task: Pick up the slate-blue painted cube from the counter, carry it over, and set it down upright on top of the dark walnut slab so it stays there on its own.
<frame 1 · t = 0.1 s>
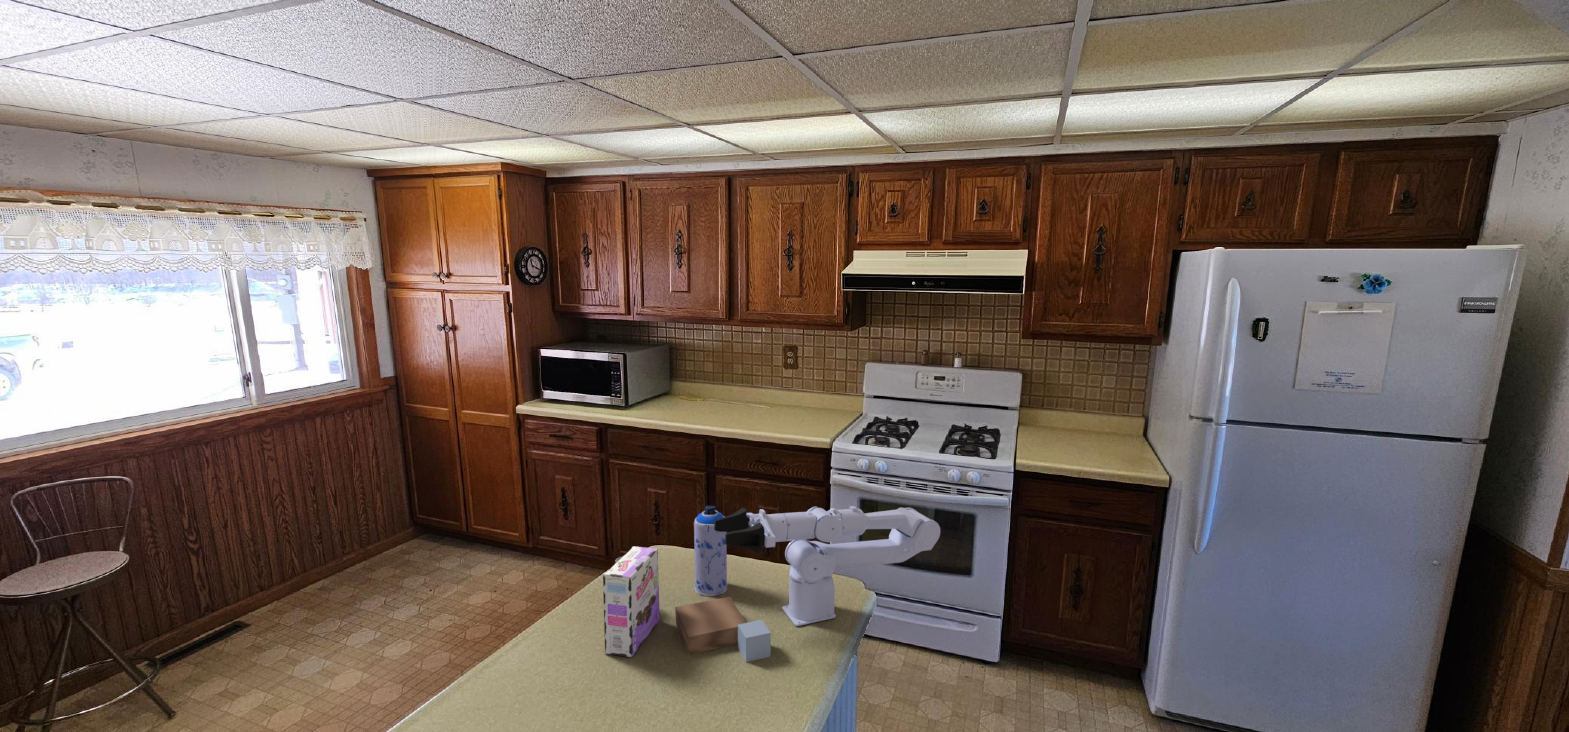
hand: (720, 532, 124), 22 cm above the countertop, tool horizontal, fingers open, 7 cm apart
walnut slab: (710, 633, 127), on the countertop
candy box: (633, 637, 125), on the countertop
slate cube: (754, 652, 120), on the countertop
aerosol can: (711, 588, 145), on the countertop
supplement bottle: (625, 609, 136), on the countertop
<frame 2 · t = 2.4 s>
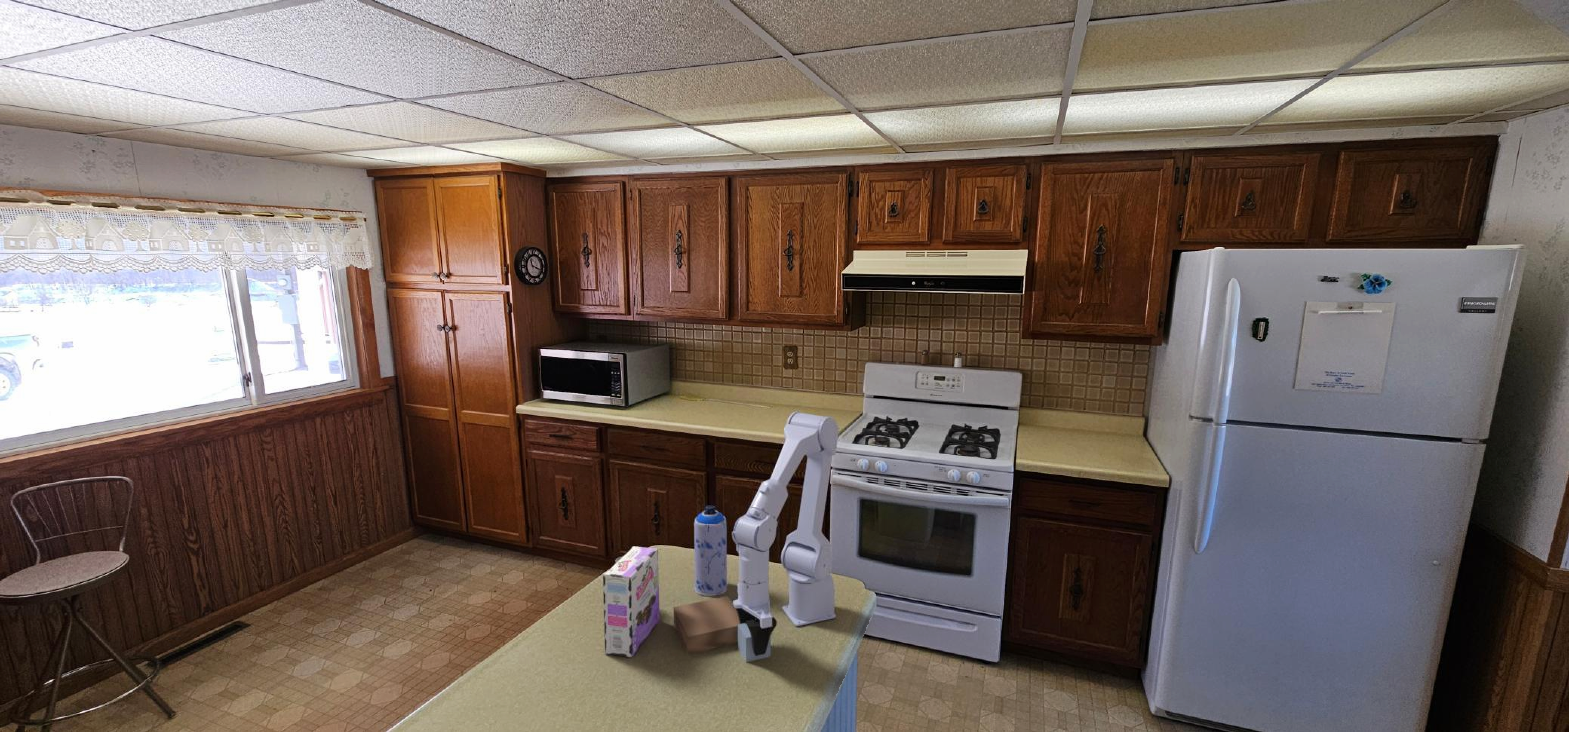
hand: (753, 643, 120), 2 cm above the countertop, tool pointing down, fingers open, 6 cm apart
walnut slab: (709, 633, 127), on the countertop, touching gripper
everything else where it was.
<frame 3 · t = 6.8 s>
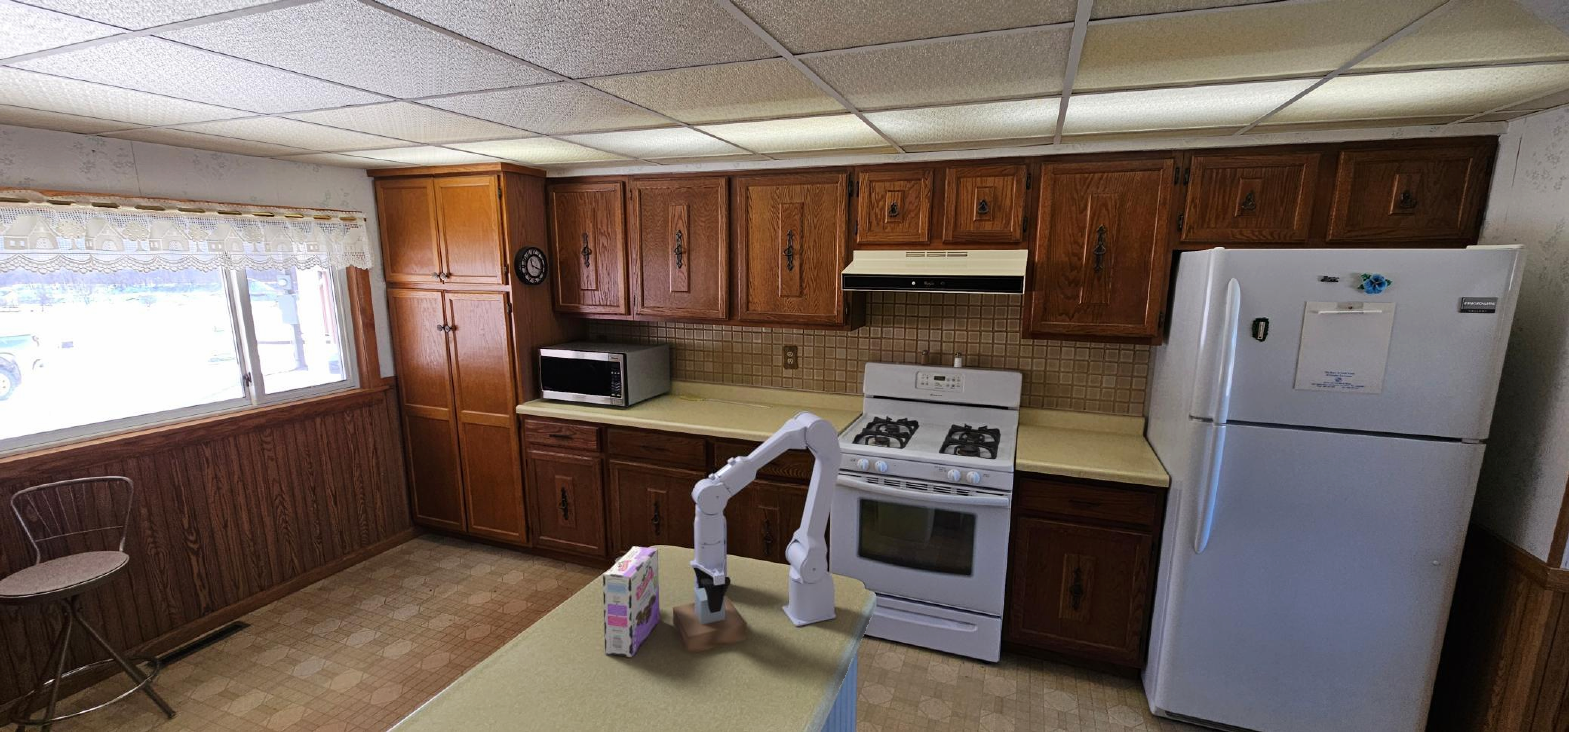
hand: (710, 602, 126), 6 cm above the countertop, tool pointing down, fingers open, 7 cm apart
walnut slab: (708, 633, 127), on the countertop, touching slate cube
slate cube: (709, 615, 126), point 4 cm above the countertop, touching walnut slab
everything else where it was.
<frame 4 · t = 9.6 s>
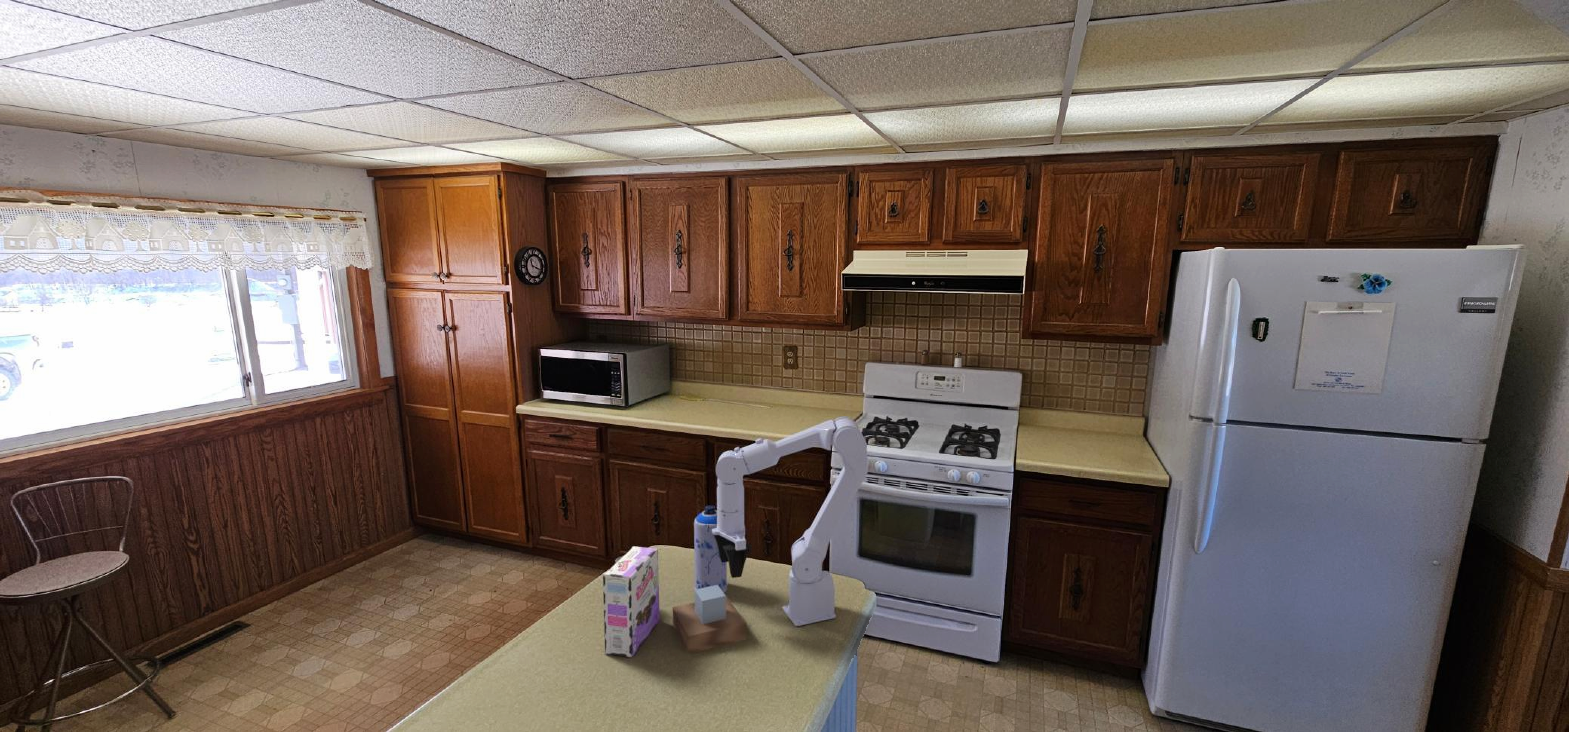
hand: (731, 568, 132), 10 cm above the countertop, tool pointing down, fingers open, 7 cm apart
nothing on the countertop moved.
at the end: slate cube inside the target area on the walnut slab (0.6 cm from its centre), point 4.0 cm above the walnut slab's base; slate cube tilted 0°; the gripper is holding nothing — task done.
